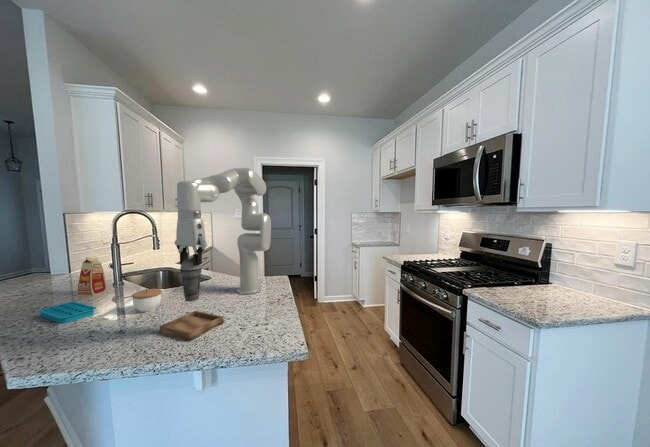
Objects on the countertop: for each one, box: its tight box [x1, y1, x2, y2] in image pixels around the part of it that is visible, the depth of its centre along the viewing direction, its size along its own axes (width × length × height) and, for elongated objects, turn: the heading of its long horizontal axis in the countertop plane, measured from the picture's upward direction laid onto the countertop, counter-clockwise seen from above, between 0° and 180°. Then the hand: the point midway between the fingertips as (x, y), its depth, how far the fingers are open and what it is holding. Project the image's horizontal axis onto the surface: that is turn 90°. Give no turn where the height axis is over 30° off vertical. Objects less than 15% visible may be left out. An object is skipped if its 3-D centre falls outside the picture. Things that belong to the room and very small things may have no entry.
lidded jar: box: [131, 287, 163, 313], centre depth 112 cm, size 11×11×9 cm
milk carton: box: [76, 256, 108, 297], centre depth 134 cm, size 9×9×20 cm
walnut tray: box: [159, 310, 225, 342], centre depth 95 cm, size 15×15×2 cm
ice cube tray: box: [37, 301, 97, 324], centre depth 107 cm, size 12×20×3 cm, turn 67°
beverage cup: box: [179, 246, 203, 303], centre depth 94 cm, size 7×7×20 cm
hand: (191, 263), depth 94 cm, fingers closed on beverage cup, 6 cm apart
